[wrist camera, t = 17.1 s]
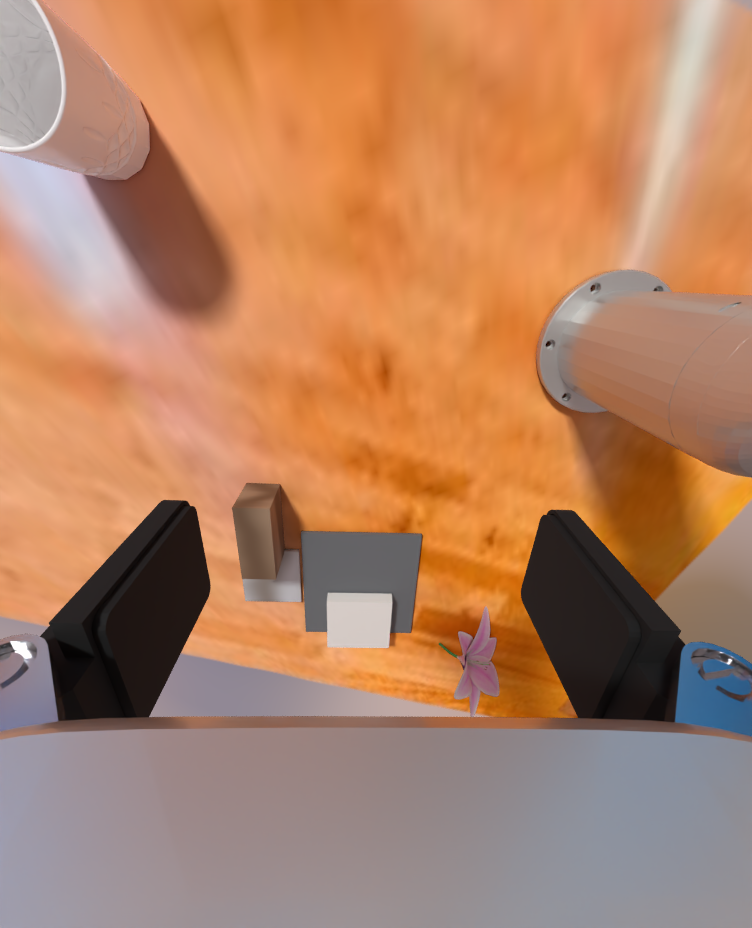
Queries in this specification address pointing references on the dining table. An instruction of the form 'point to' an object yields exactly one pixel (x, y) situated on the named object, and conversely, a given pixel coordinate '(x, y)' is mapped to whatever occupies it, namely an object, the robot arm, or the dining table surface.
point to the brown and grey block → (265, 546)
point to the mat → (360, 572)
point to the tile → (359, 620)
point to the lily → (477, 664)
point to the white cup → (65, 98)
